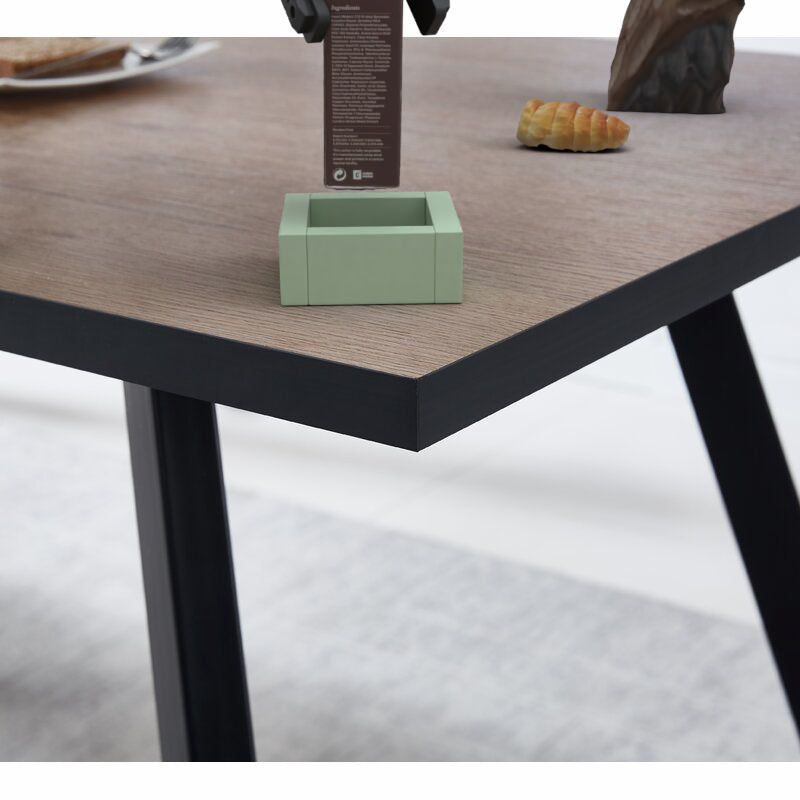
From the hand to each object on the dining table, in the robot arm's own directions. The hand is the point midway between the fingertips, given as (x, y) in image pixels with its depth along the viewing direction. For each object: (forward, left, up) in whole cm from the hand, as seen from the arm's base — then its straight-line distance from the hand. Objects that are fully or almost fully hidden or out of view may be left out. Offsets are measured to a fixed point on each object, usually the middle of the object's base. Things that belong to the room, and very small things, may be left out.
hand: (379, 28), depth 69 cm
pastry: (+17, +41, -14) cm, 47 cm away
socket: (-1, +1, -14) cm, 14 cm away
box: (-1, +1, -9) cm, 9 cm away
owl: (+30, +62, -14) cm, 71 cm away
